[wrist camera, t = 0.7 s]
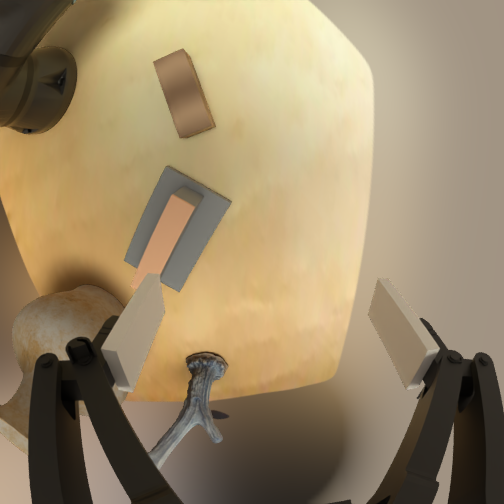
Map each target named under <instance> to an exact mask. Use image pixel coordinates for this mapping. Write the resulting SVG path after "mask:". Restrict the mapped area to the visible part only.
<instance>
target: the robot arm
mask: <svg viewBox="0 0 504 504" xmlns="http://www.w3.org/2000/svg"><path fill="white" fill-rule="evenodd" d="M75 2H76V0H0V127H4V126H5V127H8V128H11V129H13V130H16V131H18V132H21V133H24V134H38V133H43V132H45V131H47V130H49V129H50V128H52V127H53V126H54V125H55V124H56V123H57V122H58V121H59V120H60V119H61V117H62V116H63V114H64V113H65V111H66V110H67V108H68V106H69V104H70V101H71V99H72V96H73V93H74V90H75V85H76V78H77V70H76V64H75V61H74V58H73V56H72V55H71V54H70V53H69V52H68V51H67V50H65V49H62V48H58V47H54V46H48V47H44V48H38V49H35V48H36V46H37V45H38V44H39V42H40V41H41V40H42V38H43V37H44V36H45V35H46V33H47V32H48V31H49V30H50V28H51V27H52V26H53V25H54V24H55V22H56V21H57V20H58V19H59V18H60V17H61V16H62V14H63V13H64V12H65V11H66V10H67V9H68V8H69V7H70V6H71V5H73V4H74V3H75ZM164 314H165V307H164V301H163V295H162V288H161V281H160V274H154V273H147V275H146V276H145V278H144V279H143V281H142V282H141V284H140V285H139V287H138V289H137V290H136V292H135V293H134V295H133V296H132V298H131V299H130V301H129V303H128V304H127V306H126V307H125V309H124V311H123V312H122V314H121V315H120V316H116V315H112V316H111V317H110V318H108V319H107V320H106V321H105V322H104V324H103V326H102V328H101V329H100V330H99V332H98V333H97V335H96V336H95V338H94V340H93V341H92V342H91V340H90V339H89V338H87V337H76V338H74V339H72V340H70V341H69V342H68V343H67V345H66V348H65V351H66V353H67V355H68V357H69V359H70V360H62V361H59V359H58V357H57V356H56V354H53V353H45V354H43V355H41V356H39V358H38V359H37V360H36V363H35V368H34V375H33V382H32V390H31V399H30V411H29V428H28V462H29V479H30V490H31V498H32V504H93V501H92V497H91V493H90V488H89V484H88V479H87V473H86V467H85V462H84V455H83V448H82V439H81V429H80V417H79V401H84V404H85V406H86V409H87V412H88V414H89V417H90V419H91V422H92V425H93V427H94V429H95V432H96V434H97V436H98V439H99V441H100V443H101V445H102V447H103V450H104V452H105V454H106V456H107V458H108V460H109V462H110V464H111V466H112V468H113V470H114V472H115V474H116V475H117V477H118V479H119V481H120V483H121V484H122V486H123V488H124V490H125V491H126V493H127V495H128V496H129V498H130V500H131V504H184V503H183V502H182V501H181V500H180V498H179V497H178V496H177V495H176V493H175V492H174V491H173V489H172V488H171V487H170V485H169V484H168V483H167V481H166V480H165V478H164V477H163V476H162V474H161V473H160V471H159V470H158V468H157V467H156V465H155V464H154V462H153V461H152V459H151V458H150V456H149V455H148V453H147V452H146V450H145V448H144V447H143V445H142V443H141V442H140V440H139V438H138V437H137V435H136V433H135V431H134V430H133V428H132V426H131V424H130V423H129V421H128V419H127V417H126V415H125V413H124V411H123V409H122V407H121V405H120V403H119V401H118V399H117V397H116V395H115V393H114V391H113V389H112V388H113V386H114V384H115V383H116V385H117V387H118V390H122V391H127V392H132V393H133V391H134V388H135V386H136V383H137V380H138V378H139V375H140V373H141V370H142V367H143V365H144V362H145V360H146V357H147V355H148V352H149V350H150V347H151V345H152V342H153V340H154V338H155V335H156V333H157V330H158V328H159V326H160V323H161V321H162V318H163V316H164ZM368 316H369V318H370V320H371V322H372V323H373V325H374V327H375V329H376V331H377V333H378V334H379V336H380V338H381V340H382V342H383V344H384V346H385V348H386V350H387V352H388V354H389V356H390V358H391V360H392V362H393V364H394V366H395V368H396V370H397V372H398V374H399V376H400V378H401V381H402V383H403V385H404V387H405V389H406V390H409V389H414V388H417V387H418V386H419V385H420V383H421V381H422V380H423V381H424V383H425V387H424V388H423V389H422V391H421V392H420V394H419V396H418V397H417V399H419V397H420V399H419V401H418V404H417V407H416V410H415V412H414V415H413V418H412V420H411V422H410V425H409V427H408V430H407V432H406V434H405V437H404V439H403V441H402V443H401V445H400V448H399V450H398V452H397V454H396V456H395V458H394V460H393V462H392V464H391V466H390V468H389V470H388V472H387V474H386V475H385V477H384V479H383V481H382V483H381V484H380V486H379V488H378V490H377V491H376V493H375V494H374V495H373V496H372V498H371V499H370V500H369V501H368V502H367V503H366V504H432V502H433V500H434V498H435V495H436V493H437V491H438V487H439V482H437V481H436V477H437V474H438V471H439V469H440V466H441V463H442V460H443V457H444V454H445V451H446V447H447V444H448V441H449V437H450V434H451V430H452V426H453V422H454V446H453V465H452V475H451V484H450V492H449V498H448V504H504V412H503V406H502V400H501V395H500V390H499V385H498V380H497V376H496V372H495V368H494V364H493V361H492V359H491V358H490V357H489V355H487V354H485V353H482V352H481V353H480V352H479V353H477V354H476V355H475V357H474V358H473V360H469V359H463V357H462V356H461V355H460V354H459V353H458V352H456V351H453V350H448V349H447V348H446V346H445V344H444V343H443V342H442V340H441V339H440V337H439V336H438V335H437V333H436V332H435V331H434V330H433V328H432V326H431V325H430V324H429V323H428V322H427V321H426V320H424V319H423V318H418V316H417V315H416V314H415V313H414V311H413V310H412V308H411V307H410V306H409V304H408V303H407V302H406V301H405V299H404V298H403V297H402V295H401V294H400V293H399V291H398V290H397V289H396V288H395V286H394V285H393V284H392V283H391V281H390V280H389V279H388V278H378V280H377V284H376V288H375V291H374V295H373V299H372V302H371V306H370V309H369V312H368ZM329 504H351V500H346V501H341V502H335V503H329Z"/></svg>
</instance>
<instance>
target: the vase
mask: <svg viewBox="0 0 504 504" xmlns="http://www.w3.org/2000/svg"><path fill="white" fill-rule="evenodd" d="M124 309H125V308H124V307H123V306H122V304H121V303H120V302H119V301H118V300H117V299H116V298H115V297H114V296H113V295H112V294H110V293H109V292H107V291H105V290H104V289H102V288H100V287H97V286H93V285H81V286H79V287H77V288H75V289H74V290H71V291H65V292H58V293H53V294H48V295H45V296H41V297H39V298H37V299H36V300H34V301H32V302H30V303H29V304H27V305H26V306H25V307H24V308H23V309H22V310H21V311H20V313H19V314H18V315H17V318H16V319H15V322H14V325H13V331H12V342H13V348H14V353H15V356H16V359H17V361H18V364H19V366H20V368H21V370H22V372H23V379H22V382H21V384H20V386H19V388H18V390H17V392H16V393H15V394H14V396H13V397H12V399H10V400H9V401H8V402H7V403H6V404H4V405H0V433H1V434H2V435H3V436H4V437H5V438H6V439H8V440H9V441H10V442H11V443H12V444H13V445H15V446H16V447H17V448H19V449H20V450H21V451H23V452H24V453H25V454H27V455H28V428H29V411H30V399H31V390H32V382H33V375H34V368H35V363H36V360H37V359H38V358H39V356H41V355H43V354H45V353H53V354H56V356H57V357H58V359H59V361H62V360H70V359H69V357H68V355H67V353H66V351H65V348H66V345H67V343H68V342H69V341H70V340H72V339H74V338H76V337H87V338H89V339H90V340H91V342H92V341H93V340H94V338H95V336H96V335H97V333H98V332H99V330H100V329H101V328H102V326H103V324H104V322H105V321H106V320H107V319H108V318H110V317H111V316H112V315H116V316H120V315H121V314H122V312H123V311H124ZM112 389H113V391H114V393H115V395H116V397H117V399H118V401H119V403H120V405H121V404H122V403H123V401H124V400H125V398H126V396H127V394H128V392H127V391H122V390H118V387H117V385H116V383H115V384H114V386H113V388H112ZM79 415H82V416H89V414H88V412H87V409H86V406H85V404H84V401H79Z"/></svg>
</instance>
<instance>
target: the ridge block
mask: <svg viewBox="0 0 504 504" xmlns="http://www.w3.org/2000/svg"><path fill="white" fill-rule="evenodd" d="M230 204H231V201H230V200H228V199H226V198H224V197H223V196H221V195H219V194H218V193H216V192H214V191H212V190H211V189H209V188H207V187H205V186H204V185H202V184H200V183H198V182H197V181H195V180H193V179H191V178H189V177H188V176H186V175H184V174H182V173H180V172H179V171H177V170H175V169H173V168H171V167H170V166H166V167H165V169H164V171H163V173H162V175H161V177H160V179H159V181H158V183H157V185H156V187H155V189H154V191H153V194H152V196H151V198H150V200H149V202H148V204H147V206H146V209H145V211H144V213H143V215H142V218H141V220H140V222H139V225H138V227H137V229H136V232H135V234H134V236H133V239H132V241H131V244H130V246H129V249H128V251H127V254H126V256H125V259H124V261H125V262H127V263H129V264H130V265H132V266H134V267H136V268H137V271H136V273H135V276H134V278H133V280H132V283H131V285H130V287H132V288H133V289H135V290H137V289H138V287H139V285H140V284H141V282H142V281H143V279H144V278H145V276H146V275H147V273H154V274H160V281H161V282H162V283H163V284H165V285H167V286H169V287H171V288H172V289H174V290H176V291H178V292H180V290H181V288H182V287H183V285H184V283H185V281H186V280H187V278H188V276H189V274H190V272H191V271H192V269H193V267H194V265H195V264H196V262H197V260H198V258H199V257H200V255H201V253H202V251H203V250H204V248H205V246H206V244H207V243H208V241H209V239H210V238H211V236H212V234H213V233H214V231H215V229H216V227H217V226H218V224H219V222H220V221H221V219H222V217H223V216H224V214H225V212H226V211H227V209H228V207H229V206H230Z"/></svg>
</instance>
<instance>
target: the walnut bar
mask: <svg viewBox="0 0 504 504" xmlns="http://www.w3.org/2000/svg"><path fill="white" fill-rule="evenodd" d="M153 63H154V66H155V69H156V72H157V75H158V78H159V81H160V84H161V87H162V89H163V92H164V95H165V98H166V101H167V104H168V107H169V109H170V112H171V115H172V118H173V121H174V123H175V126H176V129H177V132H178V134H179V137H180V138H188V137H191V136H193V135H196V134H199V133H201V132H204V131H206V130H209V129H212V128H214V127H216V126H215V123H214V121H213V118H212V115H211V112H210V110H209V107H208V104H207V101H206V99H205V96H204V93H203V90H202V88H201V85H200V82H199V80H198V77H197V74H196V71H195V69H194V66H193V63H192V61H191V58H190V56H189V55H188V54H187V52H186V51H185V50H184V49H181V50H178V51H176V52H174V53H171V54H169V55H167V56H165V57H162V58H160V59H158V60H156V61H154V62H153Z"/></svg>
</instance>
